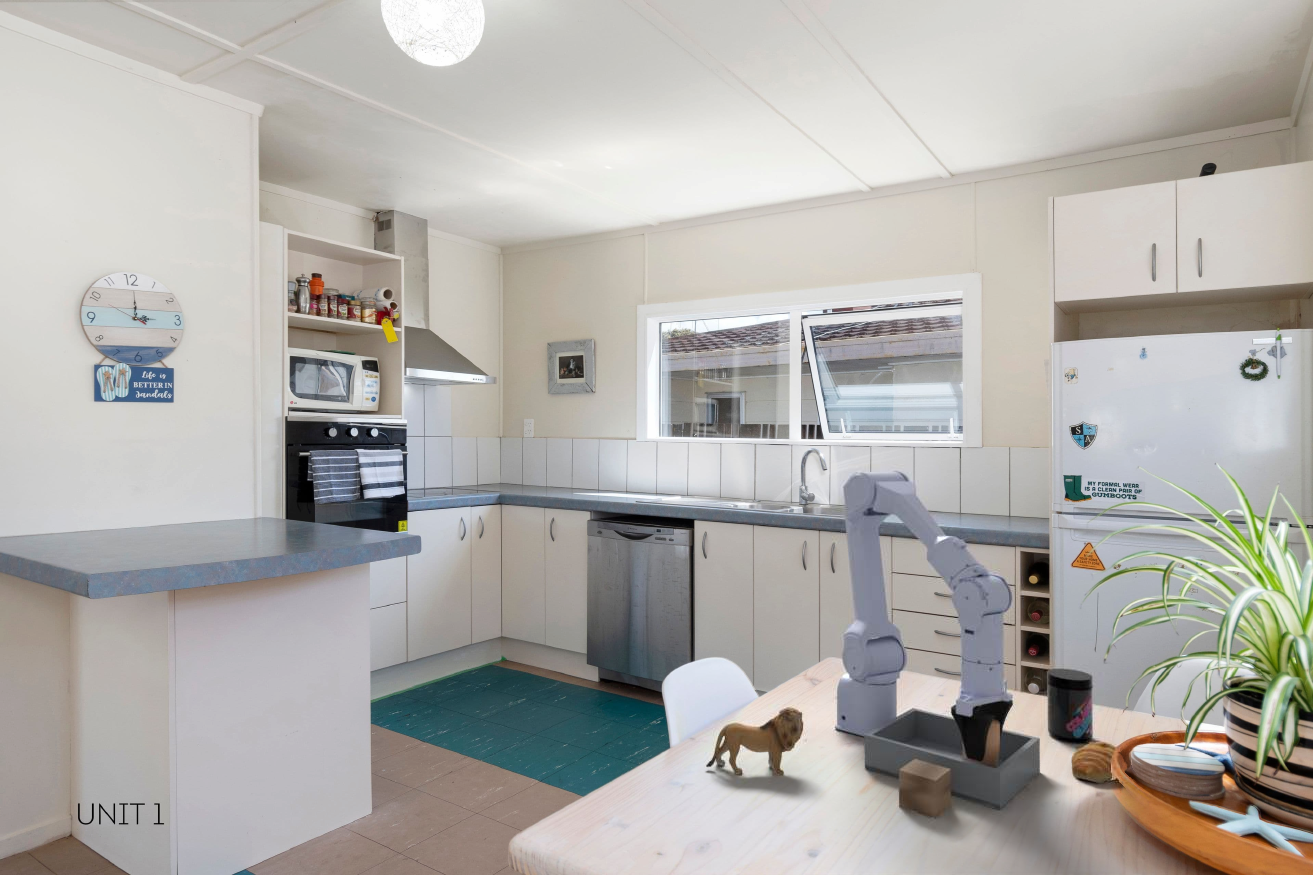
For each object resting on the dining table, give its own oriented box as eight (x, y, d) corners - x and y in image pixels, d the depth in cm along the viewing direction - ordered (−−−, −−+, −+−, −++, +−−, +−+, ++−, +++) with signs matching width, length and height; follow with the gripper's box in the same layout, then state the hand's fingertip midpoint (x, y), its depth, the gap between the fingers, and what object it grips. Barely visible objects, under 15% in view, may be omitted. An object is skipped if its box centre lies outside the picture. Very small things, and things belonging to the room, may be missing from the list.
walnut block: (899, 807, 103) (898, 769, 103) (915, 794, 107) (915, 758, 107) (935, 819, 100) (935, 780, 100) (950, 806, 103) (950, 768, 103)
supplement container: (1058, 743, 125) (1058, 679, 126) (1040, 729, 132) (1039, 667, 132) (1101, 745, 125) (1100, 680, 125) (1080, 730, 132) (1080, 668, 132)
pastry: (1112, 791, 108) (1111, 764, 108) (1060, 777, 113) (1059, 751, 113) (1130, 772, 115) (1129, 746, 115) (1080, 759, 120) (1080, 734, 120)
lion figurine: (798, 761, 118) (798, 702, 118) (808, 775, 113) (808, 713, 113) (703, 763, 117) (703, 703, 117) (708, 778, 112) (708, 715, 112)
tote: (864, 768, 115) (864, 734, 116) (912, 738, 128) (912, 707, 128) (1000, 809, 102) (1000, 771, 102) (1039, 771, 114) (1039, 738, 114)
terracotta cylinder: (958, 770, 111) (958, 722, 112) (967, 759, 115) (967, 712, 116) (995, 779, 108) (995, 729, 109) (1003, 768, 112) (1003, 719, 113)
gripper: (992, 675, 104) (993, 776, 104) (1027, 654, 115) (1028, 746, 114) (941, 665, 109) (941, 761, 109) (979, 646, 119) (979, 734, 119)
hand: (982, 753), depth 112 cm, fingers open, 5 cm apart
